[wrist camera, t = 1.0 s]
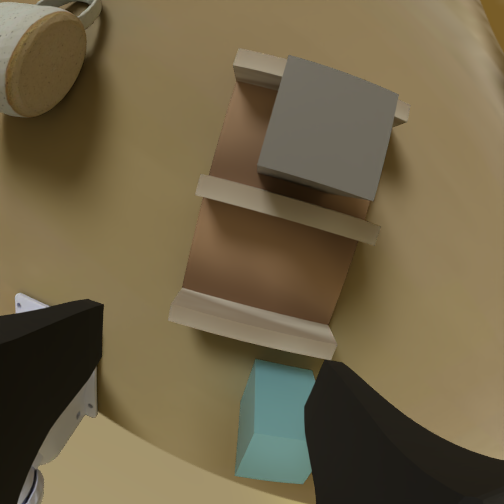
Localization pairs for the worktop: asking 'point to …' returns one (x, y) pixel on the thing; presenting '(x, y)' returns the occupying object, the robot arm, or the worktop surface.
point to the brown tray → (267, 234)
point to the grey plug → (328, 130)
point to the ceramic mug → (40, 53)
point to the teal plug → (274, 424)
